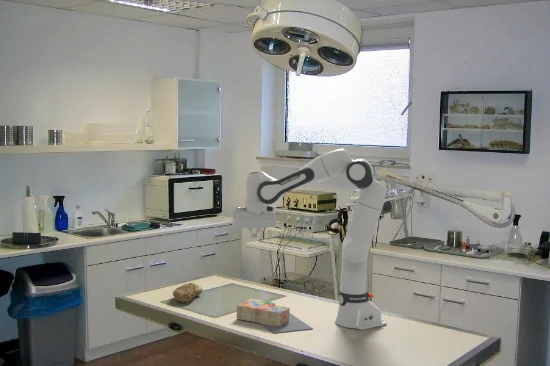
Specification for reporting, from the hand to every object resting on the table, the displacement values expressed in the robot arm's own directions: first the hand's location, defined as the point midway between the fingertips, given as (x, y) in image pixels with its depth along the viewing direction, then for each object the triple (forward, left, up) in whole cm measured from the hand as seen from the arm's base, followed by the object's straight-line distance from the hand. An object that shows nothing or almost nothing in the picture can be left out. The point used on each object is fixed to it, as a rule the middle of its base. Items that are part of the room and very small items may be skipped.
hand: (253, 237), depth 283 cm
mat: (-6, +19, -34) cm, 40 cm away
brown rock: (+23, -28, -34) cm, 50 cm away
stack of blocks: (+5, +18, -31) cm, 36 cm away
